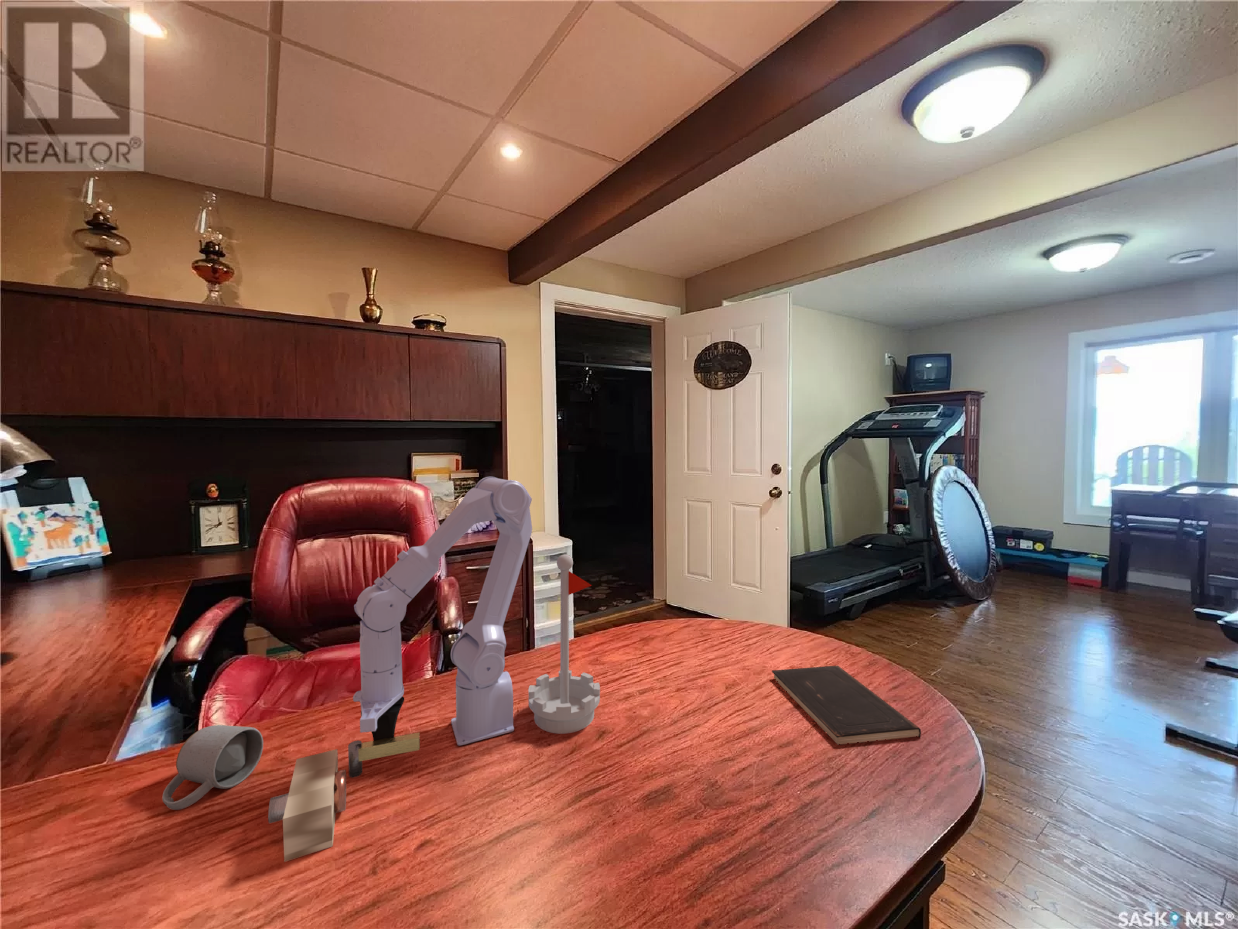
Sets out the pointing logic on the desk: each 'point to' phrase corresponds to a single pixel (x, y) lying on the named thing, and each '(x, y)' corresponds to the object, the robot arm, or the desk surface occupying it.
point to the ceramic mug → (214, 761)
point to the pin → (279, 802)
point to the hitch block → (310, 806)
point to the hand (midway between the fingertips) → (384, 748)
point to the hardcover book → (844, 705)
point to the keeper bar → (379, 750)
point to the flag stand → (565, 675)
